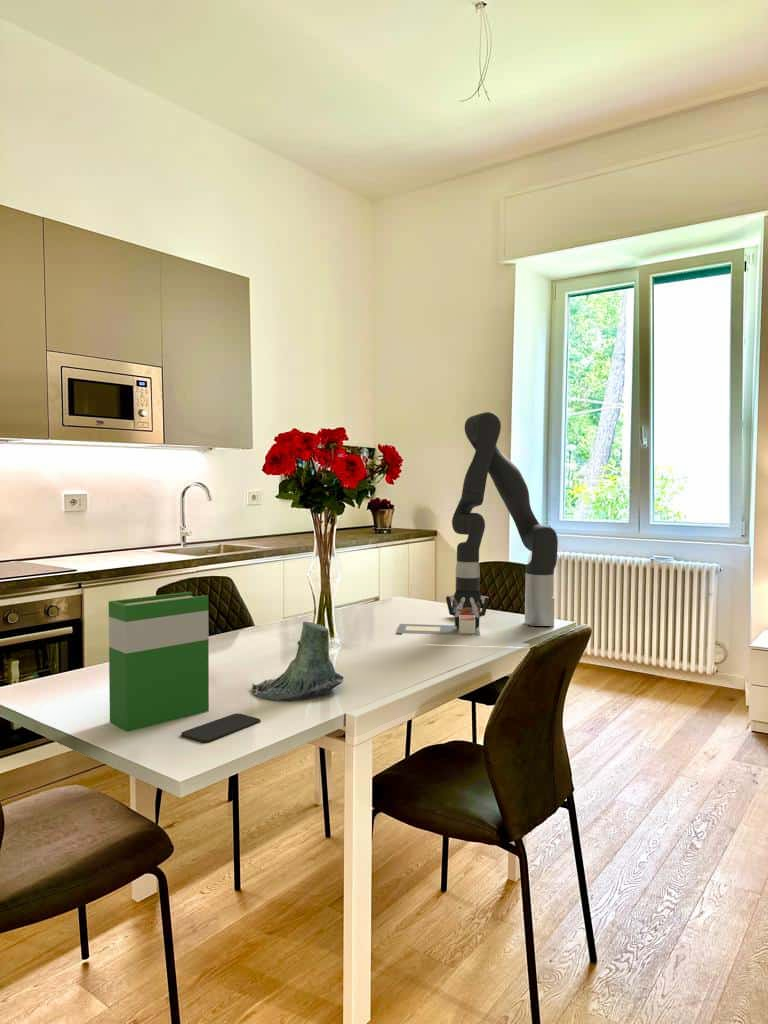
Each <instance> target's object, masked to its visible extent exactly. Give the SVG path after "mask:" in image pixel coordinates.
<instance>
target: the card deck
mask: <svg viewBox="0 0 768 1024" xmlns="http://www.w3.org/2000/svg"><path fill="white" fill-rule="evenodd" d="M459 633H475V615H459Z"/></svg>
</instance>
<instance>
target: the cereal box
mask: <svg viewBox="0 0 768 1024" xmlns="http://www.w3.org/2000/svg"><path fill="white" fill-rule="evenodd" d="M209 637H210V636H209V595H206V594H205V595H198V596H193V592H192V591H185V592H177V593H167V594H158V595H152V596H143V597H142V596H141V597H134V598H124V599H116V600H108V664H109V666H108V667H109V668H108V671H109V672H108V673H109V674H108V675H109V676H108V677H109V680H108V681H109V682H108V683H109V684H108V685H109V723H110V724H113V726H116V727H117V728H119V729H121V730H123V731H125V732H127V733H128V732H133V731H136V730H140V729H143V728H148V727H152V726H155V725H160V724H164V723H167V722H171V721H175V720H179V719H183V718H188V717H191V716H194V715H199V714H203V713H206V712H209V710H210V709H209V706H210V699H209V698H210V697H209V696H210V695H209V694H210V690H209V688H210V684H209V683H210V681H209V679H210V678H209V677H210V676H209V675H210V674H209V673H210V671H209V662H210V661H209V659H210V655H209V654H210V653H209V649H210V648H209V646H210V645H209V642H210V641H209V639H210V638H209Z"/></svg>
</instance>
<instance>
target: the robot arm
mask: <svg viewBox="0 0 768 1024" xmlns="http://www.w3.org/2000/svg"><path fill="white" fill-rule="evenodd" d="M501 429H502V424H501V420H500V418H499V416H498V415H497V414H495V413H494V412H491V411H484V412H481V413H477V414H475V415H471V416H470V417H468V418H467V419H466V421H465V422H464V432H465V436H466V438H467V439H468V441H469V443H470V444H471V445H472V448H473V449H474V450H475V452H474V455H473V457H472V460H471V462H470V464H469V466H468V469H467V471H466V473H465V476H464V479H463V485H462V491H461V497H460V500H459V502H458V504H457V506H456V508H455V511H454V513H453V516H452V520H451V527H452V529H453V531H454V533H456V534H459V535H467V539H466V541H463V542H459V543H458V544H457V547H456V565H455V592H454V594H451V595H446V596H445V599H446V600H445V601H446V605H447V610H448V613H449V615H450V616H452V617H454V625H455V627H457V629H459V614H460V611H461V609H462V607H463V608H465V607H469V608H473V611H474V613H475V629H477V627H478V628H479V629H480V618H481V617H484V616H486V612H487V609H488V604H489V600H490V598H489V596H484V595H481V593H480V581H481V580H480V576H481V573H480V570H481V569H480V568H481V567H480V547H481V543H482V540H483V538H484V537H483V536H484V534H485V533H484V532H485V528H486V521H485V518H484V516H483V515H482V514H481V513H478V512H472V511H473V509H474V508H476V507H479V506H482V505H483V502H484V498H485V497H484V496H485V492H486V491H485V490H486V485H487V479H488V474H489V476H490V478H491V480H492V482H493V484H494V486H495V488H496V490H497V492H498V493H499V496H500V498H501V499H502V501H503V503H504V504H505V507H506V508H507V511H508V512H509V515H510V516H511V518H512V520H513V522H514V524H515V527H516V530H517V532H518V534H519V537H520V540H521V541H522V542H521V543H522V545H523V546H524V548H525V549H527V550H528V551H529V552H531V560H530V561H529V563H527V564H526V565H525V584H524V585H525V586H524V587H525V589H524V591H525V592H524V598H525V599H524V624H525V625H526V626H528V625H529V626H528V627H534V626H550V627H555V597H554V589H555V588H554V583H555V568H556V565H557V561H558V547H559V540H558V535H557V532H556V531H555V529H554V528H553V527H551V526H547V525H541V523H540V522H539V521H538V519H537V517H536V516H535V514H534V513H533V510H532V507H531V501H530V492H529V491H530V490H529V489H528V488H529V487H528V484H527V482H526V481H525V479H524V477H523V475H522V473H521V471H520V470H519V469H518V467H517V466H516V464H514V463H513V461H511V460H510V459H509V458H508V457H507V456H506V455H505V454H503V453H502V451H501V450H500V448H499V447H498V446H497V444H498V440H499V437H500V434H501ZM454 598H455V600H456V601H457V602H458V607H457V610H456V612H455V611H453V609H452V603H453V599H454ZM480 600H481V603H482V607H481V611H480V612H478V609H477V606H476V604H477V602H478V601H479V602H480Z"/></svg>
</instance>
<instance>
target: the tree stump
mask: <svg viewBox="0 0 768 1024" xmlns="http://www.w3.org/2000/svg"><path fill="white" fill-rule="evenodd" d="M300 633H301V635H300V638H299V640H298V641H297V645H298V646H297V652H296V655H295V658H294V659H292V660H291V661H290V662H289V665H288V667H287V668H286V669H285V671H284V672H283V673H282V674H281V675H279V676H278V677H277V678H273V679H270V678H269V679H268V680H267V679H265V680H264V681H263V682H261V683H260V682H259V683H258V684H254V683H252V686H251V692H252V694H253V695H254V697H256V698H259V699H262V700H268V701H273V702H294V701H301V700H310V699H312V698H317V697H322V696H326V695H327V694H329V693H330V692H331V691H332V690H333V689H334V688H336V687H338V686H339V685H340V684H342V683H343V682H344V676H342V675H341V674H339V673H338V672H336V669H335V667H334V664H333V662H332V660H331V659H330V649H329V647H330V646H329V645H330V644H329V635H330V633H329V628H327V627H326V626H324V625H321V624H319V623H315V622H310V621H302V629H301V632H300Z"/></svg>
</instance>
